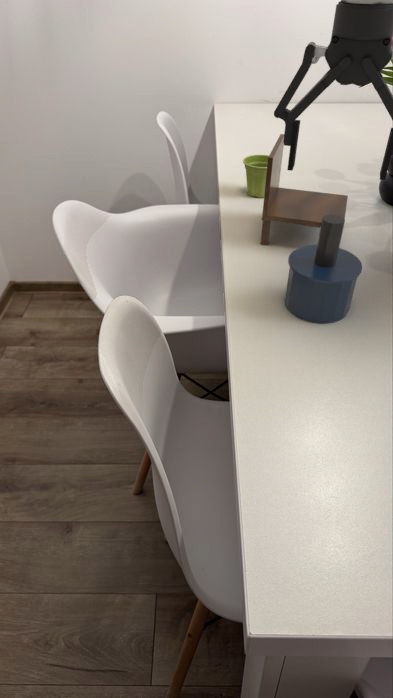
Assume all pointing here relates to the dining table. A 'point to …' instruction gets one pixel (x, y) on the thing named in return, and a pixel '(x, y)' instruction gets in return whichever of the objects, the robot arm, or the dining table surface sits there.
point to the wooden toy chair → (294, 199)
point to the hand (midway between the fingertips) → (335, 172)
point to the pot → (318, 299)
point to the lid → (326, 256)
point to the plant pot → (256, 174)
